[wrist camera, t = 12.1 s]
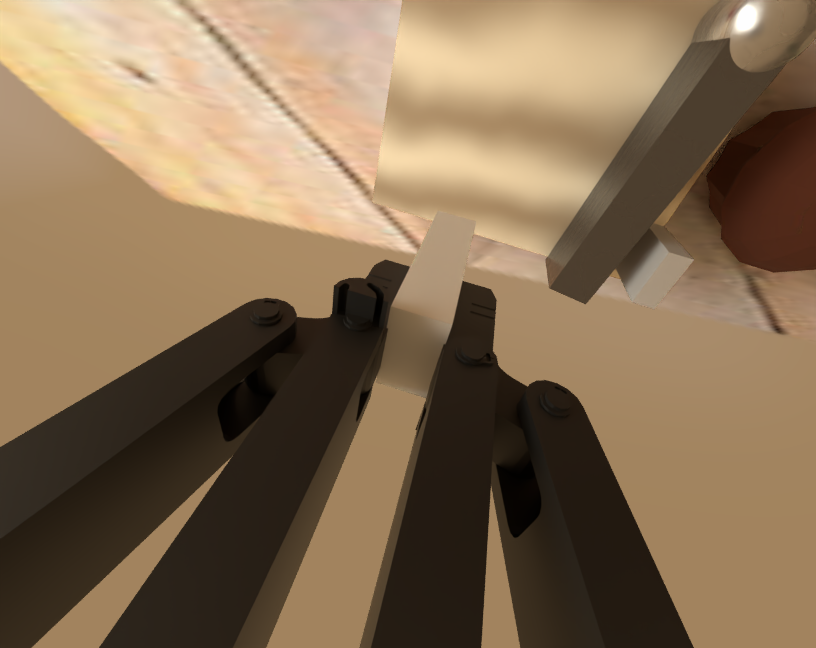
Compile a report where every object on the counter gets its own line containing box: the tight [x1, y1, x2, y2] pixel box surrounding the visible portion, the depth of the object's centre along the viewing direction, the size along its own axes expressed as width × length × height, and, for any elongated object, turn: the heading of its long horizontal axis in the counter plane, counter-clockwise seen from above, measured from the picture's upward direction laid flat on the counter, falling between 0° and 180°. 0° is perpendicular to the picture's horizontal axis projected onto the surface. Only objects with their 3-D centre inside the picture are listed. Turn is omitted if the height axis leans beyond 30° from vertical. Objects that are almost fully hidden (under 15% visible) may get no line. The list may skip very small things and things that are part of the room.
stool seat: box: [372, 0, 733, 279], centre depth 28 cm, size 18×23×6 cm
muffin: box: [706, 107, 816, 272], centre depth 25 cm, size 12×11×10 cm
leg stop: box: [616, 223, 694, 309], centre depth 26 cm, size 4×2×6 cm, turn 167°
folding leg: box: [546, 0, 816, 304], centre depth 23 cm, size 18×4×5 cm, turn 160°
